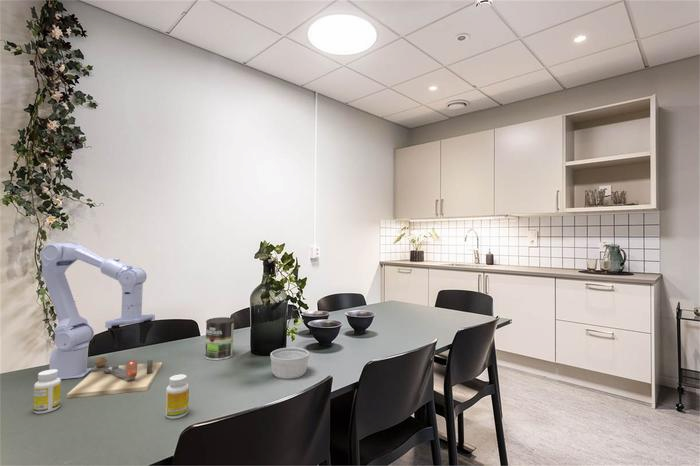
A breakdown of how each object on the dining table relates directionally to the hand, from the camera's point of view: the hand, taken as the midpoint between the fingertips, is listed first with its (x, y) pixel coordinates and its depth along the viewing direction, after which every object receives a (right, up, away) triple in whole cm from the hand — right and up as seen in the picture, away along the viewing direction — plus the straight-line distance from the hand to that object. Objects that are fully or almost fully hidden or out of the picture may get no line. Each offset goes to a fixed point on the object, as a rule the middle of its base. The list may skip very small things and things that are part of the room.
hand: (130, 345), depth 116 cm
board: (-1, -10, -4) cm, 11 cm away
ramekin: (+52, -11, +4) cm, 54 cm away
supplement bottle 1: (-7, -9, -24) cm, 27 cm away
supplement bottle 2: (+28, -10, -25) cm, 39 cm away
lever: (-1, -8, -4) cm, 9 cm away
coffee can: (+22, -11, +21) cm, 32 cm away
